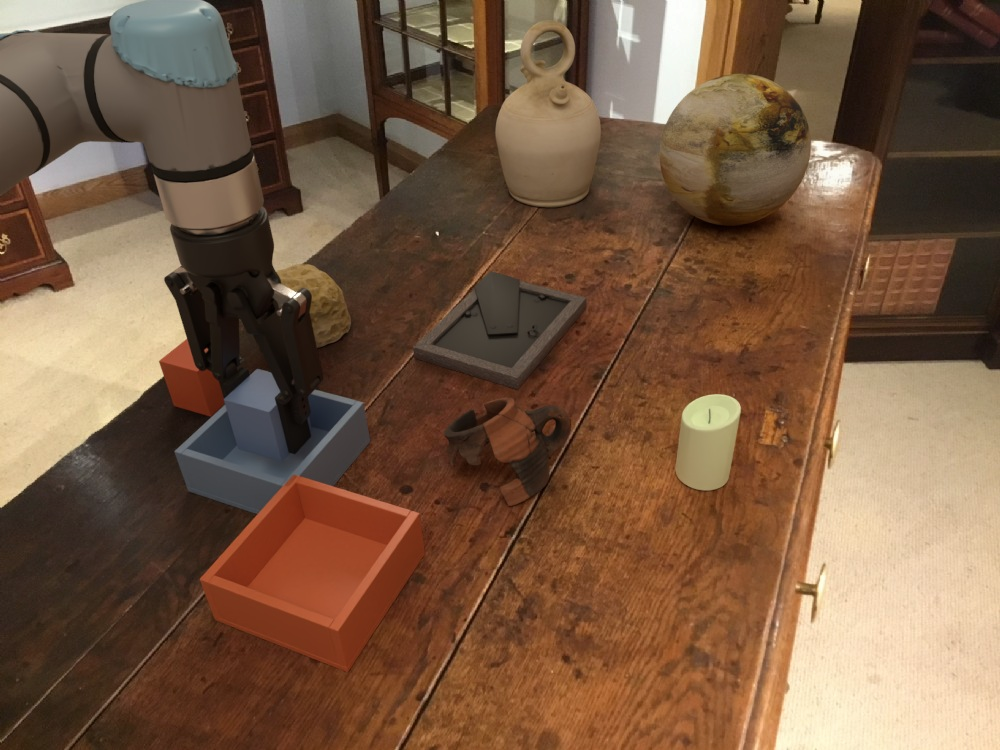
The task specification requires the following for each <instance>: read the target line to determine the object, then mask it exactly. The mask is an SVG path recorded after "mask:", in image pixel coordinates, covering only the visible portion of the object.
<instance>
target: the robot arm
mask: <svg viewBox="0 0 1000 750" xmlns="http://www.w3.org/2000/svg"><path fill="white" fill-rule="evenodd" d="M109 30H110V33H105V34H104V33H70V32H69V33H68V32H67V33H66V32H41V31H37V30H34V31H32V30H28V29H22V30H14V31H12V32H5V33H0V197H1V196H2V195H4V194H5V193H7V192H8V191H9V190H11V189H12V188H14V187H15V186H17V185H18V184H20V183H21V182H23V181H24V180H25V179H27V178H28V177H30V176H33V175H34V174H36V173H37V172H39V171H41V170H42V169H43V168H46V167H47V166H48V165H50V164H51V163H53V162H54V161H56V160H57V159H59V158H60V157H62V156H63V155H65V154H67V153H68V152H69V151H70V150H72V149H74V148H75V147H77V146H78V145H80V144H84V143H89V142H94V143H95V142H98V143H120V144H121V143H123V144H124V143H125V144H126V143H128V144H129V143H130V144H131V143H141V144H143V146H144V149H145V152H146V155H147V158H148V161H149V163H150V167H151V171H152V172H153V177H154V181H155V184H156V187H157V191H158V195H159V198H160V202H161V205H162V209H163V213H164V216H165V220H167V222H169V223H170V226H169V231H170V234H171V238H172V241H173V245H174V249H175V252H176V255H177V258H178V261H179V264H180V266H178V267H177V268H176V269H175V270H173V271H171V272H170V273H169V274H167V275H165V276H164V279H163V281H164V283H165V285H166V287H167V289H168V291H169V292H170V294H171V295H172V297H173V299H174V300H175V303H176V307H177V310H178V313H179V317H180V321H181V324H182V327H183V330H184V334H185V337H186V339H187V340H188V344H189V347H190V350H191V354H192V357H193V360H194V363H195V366H196V367H197V369H199V370H200V371H205V370H206V369H207V370H209V371H211V372H212V374H213V376H214V378H215V379H217V380H218V381H219V384H220V387H221V391H222V394H223V398H224V399H225V398H226V397H227V396H228V395H229V394H230V393H231V392H232V391H233V390H235V389H236V388H237V387H238V386H239V385H240V384H241V383H242V382H243V381H244V380H245V379H247V378H248V377H249V376H250V375H251V373H250V370H249V368H246V367H243V366H242V367H240V368H239V369H238V367H239V366H240V365H241V364H243V363H244V362H245V361H246V359H245V358H243V357H242V356H240V355H241V354H240V348H241V347H240V321H241V324H242V326H243V329H244V330H245V332H246V333H247V334H248V335H252V336H253V338H254V340H255V342H256V344H257V346H258V348H259V350H260V352H261V354H262V357H263V359H264V361H265V363H266V365H267V367H268V369H269V372H271V373H272V375H273V378H274V380H275V382H276V384H277V386H278V388H279V390H280V393H279V394H278V395H277V396H276V397H275V401H276V404H277V407H278V411H279V415H280V419H281V424H282V428H283V432H284V436H285V440H286V444H287V448H288V452H289V453H292V454H296V453H297V452H298V451H299V449H300V448H301V447H302V446H303V445H304V444H305V443H306V442H307V441H308V440H309V439H310V437H311V433H310V428H309V424H308V419H307V418H308V417H309V416H310V413H311V410H310V405H309V401H308V396H309V395H310V394H311V393H312V392H313V391H314V390H317V388H318V387H319V386H320V385H322V383H323V382H324V374H323V370H322V364H321V360H320V355H319V351H318V348H317V345H316V341H315V336H314V331H313V327H312V322H311V317H310V307H311V300H312V295H311V293H310V291H309V290H307V289H305V288H301V289H300V290H299V291H298V292H295V291H293V290H291V289H289V288H288V287H286V286H284V285H282V284H281V279H280V277H279V275H278V274H277V273H276V272H277V270H276V269H275V267H274V265H273V260H274V259H273V257H274V253H275V252H274V251H275V241H274V237H273V233H272V227H271V224H270V219H269V214H268V211H267V209H266V207H264V202H265V198H264V194H263V190H262V189H263V188H262V185H261V181H260V175H259V171H258V167H257V162H256V157H255V153H254V149H253V146H252V142H251V139H250V133H249V129H248V124H247V119H246V114H245V108H244V104H243V98H242V94H241V88H240V84H239V78H238V76H239V74H238V71H239V69H238V64H237V62H236V60H235V57H234V55H233V53H232V49H231V45H230V42H229V38H228V34H227V31H226V28H225V24H224V21H223V17H222V16H221V13H220V12H219V11H218V9H217V8H216V7H215V6H214V5H212V4H211V3H210V2H207V1H205V0H142V1H137V2H134V3H133V2H132V3H130V4H127V5H124V6H122V7H120V8H118V9H117V10H115V11H114V12H113V13H112V15H111V17H110V20H109ZM206 348H207V349H208V351H206V352H205V351H204V350H205V349H206Z"/></svg>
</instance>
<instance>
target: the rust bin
mask: <svg viewBox="0 0 1000 750" xmlns="http://www.w3.org/2000/svg"><path fill="white" fill-rule="evenodd" d="M295 477H296V478H295ZM293 478H294V479H293ZM291 480H292V481H291ZM293 480H294V481H293ZM290 481H291V482H292V483H291V484H289V482H290ZM287 482H288V483H287ZM287 482H286V484H287V485H286V484H285V485H284V486H282V488H281V489H280V490H279V491H278V492H277V493H276V494H275V495H274V496H273V498H272V499H271V500H270V501H269V502H268V503H267V504H266V505H265V507H264V508H263V509H262V510H261V511H260V512H259V513H258V514H256V515H255V516H254V517H253V519H252V520H251V521H250V522H249V523H248V524H247V526H246V527H244V529H243V530H242V531H241V532H240V533H239V534H238V535H237V537H236V538H235V539H234V540H233V541H232V542H231V543H230V544H229V546H227V548H226V549H225V550H224V551H223V552H222V553H221V554H220V556H218V558H217V559H216V560H215V561H214V562H213V563H212V564H211V565H210V566H209V568H208V569H207V570H206V571H205V572H204V573H203V575H202V576H200V578H199V581H200V584H201V587H202V591H203V593H204V595H205V597H206V600H207V603H208V606H209V608H210V611H211V614H212V616H213V619H214V621H215V622H218V623H221V624H224V625H226V626H229V627H231V628H233V629H237V630H239V631H242V632H244V633H247V634H249V635H252V636H254V637H257V638H260V639H261V640H265V641H267V642H270V643H272V644H275V645H277V646H280V647H283V648H285V649H287V650H289V651H293V652H294V653H298V654H300V655H303V656H305V657H307V658H310V659H313V660H316V661H318V662H321V663H323V664H326V665H328V666H330V667H334V668H335V669H338V670H341V671H344V672H346V673H349V671H350V670H351V668H352V667H353V665H354V663H355V662H356V661H357V659H358V657H359V656H360V655H361V653H362V651H363V650H364V648H365V647H366V645H367V644H368V642H369V641H370V639H371V637H372V636H373V634H374V633H375V631H376V630H377V628H378V627H379V626H380V624H381V622H382V621H383V619H384V618H385V617H386V615H387V613H388V611H389V610H390V608H391V607H392V605H393V604H394V602H395V601H396V600H397V598H398V596H399V595H400V593H401V592H402V590H403V589H404V587H405V586H406V584H407V582H408V581H409V580H410V578H411V576H412V575H413V573H414V572H415V570H416V569H417V567H418V565H419V564H420V563H421V561H422V559H423V558H424V556H425V554H426V551H425V543H424V536H423V528H422V522H421V513H420V512H417V511H416V510H415V511H414V510H411V509H408V508H405V507H402V506H398V505H395V504H392V503H388V502H385V501H382V500H379V499H376V498H372V497H369V496H366V495H363V494H360V493H357V492H353V491H349V490H347V489H343V488H339V487H336V486H330V485H327V484H324V483H320V482H317V481H314V480H311V479H307V478H304V477H301V476H297V475H295V476H292V477H291V478H290V479H289V480H288V481H287Z"/></svg>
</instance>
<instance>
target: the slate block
mask: <svg viewBox="0 0 1000 750" xmlns="http://www.w3.org/2000/svg"><path fill="white" fill-rule="evenodd" d="M279 393H280V390H279V388H278V386H277V384H276V382H275V380H274V378H273V375H272V373H271V371H268V370H263V369H260V368H256V369H255V370H254V371H253V372H252V373H250V376H249V377H248V378H247V379H245V380H244V381H243V382H242V383H241V384H240V385H239V386H238V387H237V388H236V389H235V390H233V391H232V392H231V393H230V394H229V395H228V396H227V397H226V398H225V399H224V402H225V404H224V405H225V406H226V409H227V413H228V416H229V420H230V423H231V426H232V430H233V433H234V437H235V440H236V443H237V447H238V449H240V450H244V451H247V452H250V453H253V454H257V455H260V456H263V457H267V458H270V459H273V460H276V461H280V462H282V461H283V460H284V459H285V458H286V457H287V456H288V455H289V454H290V453H289V452H288V448H287V444H286V440H285V436H284V432H283V428H282V424H281V419H280V415H279V411H278V407H277V404H276V401H275V397H276V396H277V395H278V394H279ZM307 419H308V424H309V428H310V431H311V430H312V427H311V423H310V418H309V417H308V418H307Z"/></svg>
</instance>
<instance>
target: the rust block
mask: <svg viewBox="0 0 1000 750" xmlns="http://www.w3.org/2000/svg"><path fill="white" fill-rule="evenodd" d="M204 351H205V352H206V351H208V349H207V348H206V349H205V350H204ZM158 363H159V366H160V369H161V372H162V374H163V378H164V381H165V383H166V387H167V390H168V392H169V396H170V399H171V402H172V404H173V406H174V407H176V408H179V409H182V410H186V411H190V412H193V413H197V414H200V415H204V416H207V417H210V418H211V417H212V416H213V415H214V414H215V413H217V412H218V411H219V410H220V409H221V408H222V407H223V406H224V405H225V402H224V398H223V394H222V391H221V387H220V384H219V381H218V380H217V379H215V378H214V376H213V374H212V372H211V371H209V370H207V369H206V370H205V371H200V370H199V369H197V367H196V366H195V363H194V360H193V357H192V354H191V350H190V347H189V344H188V340H187V338H186V339H185V340H183V341H182V342H181V343H180V344H178V345H177V346H176V347H174V348H173V349H172V350H171V351H169V352H168V353H167V354H166V355H164V356H163V357H161V358H160V359H159V360H158Z"/></svg>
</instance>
